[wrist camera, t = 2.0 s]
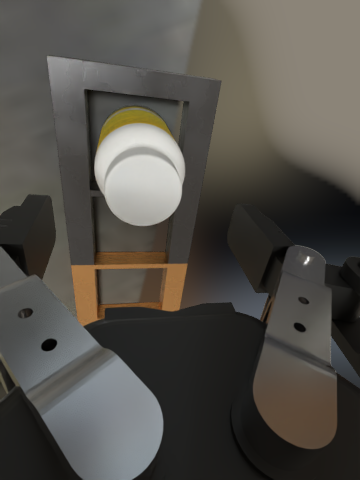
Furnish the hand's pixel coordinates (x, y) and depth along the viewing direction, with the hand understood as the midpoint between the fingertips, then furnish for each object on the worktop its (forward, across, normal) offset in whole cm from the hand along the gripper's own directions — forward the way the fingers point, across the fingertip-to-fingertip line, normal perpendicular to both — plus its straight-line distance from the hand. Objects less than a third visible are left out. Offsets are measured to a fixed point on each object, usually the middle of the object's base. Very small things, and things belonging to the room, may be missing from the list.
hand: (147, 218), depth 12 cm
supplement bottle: (+12, 0, 0) cm, 12 cm away
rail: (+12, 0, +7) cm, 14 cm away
